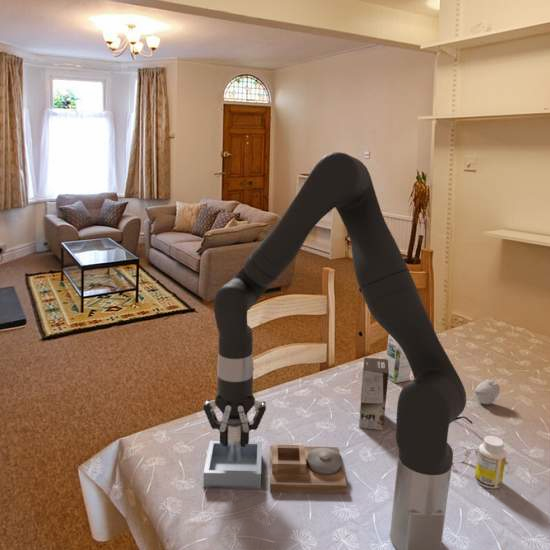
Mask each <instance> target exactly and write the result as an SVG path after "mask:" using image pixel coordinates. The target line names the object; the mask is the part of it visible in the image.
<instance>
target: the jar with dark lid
mask: <svg viewBox="0 0 550 550" xmlns="http://www.w3.org/2000/svg"><path fill="white" fill-rule="evenodd" d="M226 424H227V425H226V459H227V460H228V461H231V462H237V461H240V460H241V459H242V455H243V447H242V432H243V426H242V423H241V420H240V418H236V417H233V418H228V420H227V423H226Z"/></svg>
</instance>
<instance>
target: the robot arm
mask: <svg viewBox="0 0 550 550" xmlns="http://www.w3.org/2000/svg"><path fill="white" fill-rule="evenodd" d="M376 193H377V192H376V190H375V186H374V184H373V180H372V177H371V174H370V172H369V170H368V168H367V167H366V165H365V164H364V162H362V161H361V160H360V159H358V158H357V157H354V156H351V155H349V154H347V153H345V152H341V151H340V152H339V151H337V152H336V151H334V152H331V153H327V154H325V155H324V156H323V157H321V158H320V159H319V160H318V161H317V162H316V163H315V165H314V167H312V170H311V171H310V173H309V174H308V176H307V178H306V179H305V181H304V183H303V184H302V185H301V188H300V190H299V191H298V193H297V194H296V195H295V197H294V199H293V200H292V202H291V203H290V204H289V206H288V208H287V209H286V210H285V212H284V213H283V215H282V216H281V217H280V218H279V220H278V221H277V223H276V224H275V225H274V227H273V228H272V229H271V230H270V232H269V233H268V234H267V235H266V236H265V237H264V239H263V240H262V241H261V242H260V243H259V244H258V245H257V246H256V248H255V249H254V250H253V251H252V253H251V254H250V255H249V256H248V257H247V258H246V260H245V262H244V265H243V266H242V268H241V269H239V271H238V272H237V273H236V275H234V276H233V277H232V278H231V279H230V280H229V281H227V283H225V284H223V285H222V286H221V287H220V288H218V290H217V291H216V293H215V296H214V299H213V301H214V302H213V314H214V318H215V323H216V328H217V331H218V357H217V371H216V372H217V379H216V380H217V383H216V384H217V385H216V386H217V389H216V390H217V392H216V394H217V395H216V397H215V398H214V399H212V400H210V399H206V400H204V403H203V410H204V413H205V416H206V418H207V421H208V422H209V425H210V427H211V429H212V430H218V431H219V441H220V443H221V444H223V447H226V425H227V424H226V423H227V420H228V418H233V417H236V418H240V420H241V423H242V426H243V432H242V447H245V446H246V444H248V443H249V442H250V432H251V431H252V430H253V431H257V430H258V428H259V425H260V423H261V421H262V419H263V417H264V414H265V412H266V408H267V403H266V401H265V400H262V401H259V400H256V398H255V397H254V393H253V392H254V370H255V367H254V357H253V341H254V340H253V339H254V338H253V331H252V328H251V326H249V325H248V311H249V310H250V309H251V308H252V307H253V306H255V304H256V303H257V301H258V300H259V299H260V298H261V297H262V295H263V294H264V293H265V292H266V290H267V289H268V288H269V286H270V285H271V284H273V283H274V282H275V281H277V279H278V278H279V277H280V276H281V275H282V274H283V272H284V271H285V270H286V269H287V268H288V267H289V266H290V265H291V264H292V262H293V261H294V260H295V258H297V255H298V254H299V252H300V250H301V249H302V247H303V245H304V243H305V241H306V239H308V236H309V235H310V233H311V231H312V230H313V229H314V227H316V225H317V224H318V223H319V222H320V221H321V220H322V219H323V218H324V217H325V216H326V215H327V214H328V213H329V212H331V211H332V210H333V209H335V210H336V212H337V213H338V214H339V217H340V219H341V221H342V223H343V225H344V227H345V229H346V232H347V235H348V238H349V241H350V246H351V255H352V256H351V257H352V263H353V268H354V269H353V270H354V273H355V278H356V281H357V284H358V288H359V290H360V292H361V294H362V296H363V297H362V298H363V300H364V302H365V304H366V306H367V309H368V311H369V312H370V314H371V317H373V318H374V320H375V321H376V322H377V323H378V324H379V325H380V327H381V328H383V329H384V330H385V332H386V333H387V334H388V335H389V334H390V335H391V336H392V337H393V338H394V340H395V341H396V342H397V343H398V344H399V345H400V347H401V348H402V350H403V352H404V354H405V356H406V358H407V360H408V362H409V365H410V367H411V369H410V371H411V372H412V375H413V379H412V380H411V381H409V382H408V383H406V384H405V385H404V386H403V387H402V389H401V390H400V393H399V395H398V399H397V405H396V407H397V408H396V423H395V425H396V426H395V441H396V445H397V447H398V454H397V462H396V463H397V464H396V473H395V481H394V493H393V499H392V500H393V502H392V509H391V510H392V512H391V521H390V522H391V523H390V531H389V538H390V541H391V544H392V545H393V547H395V549H396V550H441V548H442V541H443V536H444V528H445V527H444V526H445V519H446V512H447V505H448V497H449V489H450V483H451V482H450V481H451V476H452V475H451V474H452V468H453V467H452V466H453V463H452V462H453V460H454V452H453V451H454V450H453V449H452V447H451V445H450V444H449V442H448V434H449V427H450V424H452V422H455V421H456V420H455V419H456V418H457V417H460V415H461V414H462V413H463V412H464V410H465V407H466V404H467V392H466V390H465V387H464V385H463V382H462V379H461V378H460V376H459V374H458V373H457V370H456V368H455V367H454V365H453V364H452V362H451V360H450V358H449V356H448V354H447V352H446V350H445V349H444V347H443V345H442V343H441V341H440V340H439V338H438V335H437V334H436V330H435V329H434V326H433V324H432V322H431V318H430V316H429V315H428V312H427V310H426V307H425V306H424V304H423V301H422V299H421V296H420V294H419V291H418V289H417V286H416V284H415V281H414V278H413V277H412V274H411V271H410V270H409V267H408V265H407V263H406V261H405V258H404V257H403V255H402V252H401V250H400V247H399V246H398V244H397V241H396V240H395V238H394V235H393V234H392V232H391V231H390V227H388V225H387V223H386V221H385V218H384V216H383V211H382V210H381V207H380V202H379V201H378V197H377V194H376ZM216 406H217V408H218V409H219V411H220V412H221V413H222V417H221V419H220V420H221V421H220V420H219V419H218V417H217V414H216V412H215V408H216ZM253 407H254V411H255V415H254V416H253V419H252V421H250V420H249V415H248V413H249V412H250V411H251V409H252V408H253ZM454 420H455V421H454ZM452 450H453V451H452Z"/></svg>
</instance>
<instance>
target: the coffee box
mask: <svg viewBox="0 0 550 550" xmlns="http://www.w3.org/2000/svg"><path fill="white" fill-rule="evenodd" d="M362 368H363V369H362V380H361V393H360V405H359V406H360V407H359V408H360V409H359V418H358V419H359V423H358V427H359V428H363V429H370V430H376V431H377V430H378V431H383V430H384V422H385V413H386V405H387V404H386V402H387V393H388V382H389V378H388V374H389V368H388V360H387V359H386V358H374V357H372V358H371V357H364V358H363V367H362Z"/></svg>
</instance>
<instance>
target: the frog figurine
mask: <svg viewBox="0 0 550 550" xmlns="http://www.w3.org/2000/svg"><path fill="white" fill-rule="evenodd" d="M474 389H475V390H474V394H475V396H476V399H477V400H478V402H479V403H480V404H482V405H490V404H492V403H493V402H495V400H496V398H498V396H499V395H500V392H501V388H500V385H499V384H498V383H497V382H495V381H494V380H492V379H489V378H488V379H487V378H486V379H485V380H483V381H482V382H480V383H479V384H478V385H477V386H476V388H474Z"/></svg>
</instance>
